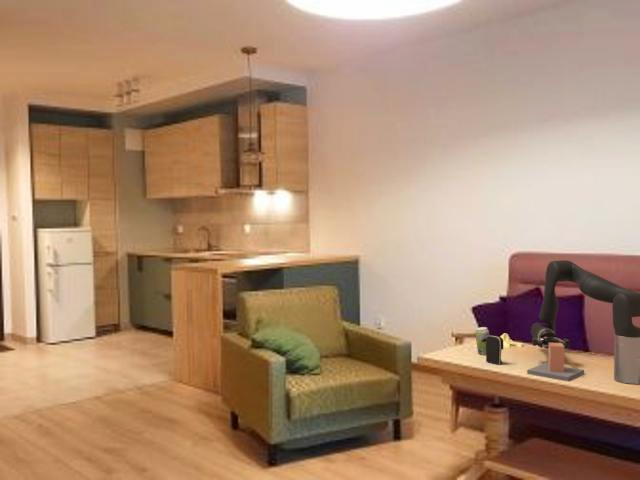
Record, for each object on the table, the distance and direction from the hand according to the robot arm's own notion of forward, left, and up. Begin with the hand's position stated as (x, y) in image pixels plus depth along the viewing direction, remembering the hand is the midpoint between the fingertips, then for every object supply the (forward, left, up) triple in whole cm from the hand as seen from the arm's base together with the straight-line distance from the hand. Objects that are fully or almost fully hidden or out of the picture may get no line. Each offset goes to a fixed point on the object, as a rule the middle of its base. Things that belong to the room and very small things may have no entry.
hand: (552, 345), depth 253 cm
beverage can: (+33, -4, -9) cm, 35 cm away
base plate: (-5, +8, -9) cm, 13 cm away
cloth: (+37, -29, -10) cm, 49 cm away
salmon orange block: (-5, +8, -7) cm, 12 cm away
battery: (+21, +8, -9) cm, 24 cm away
